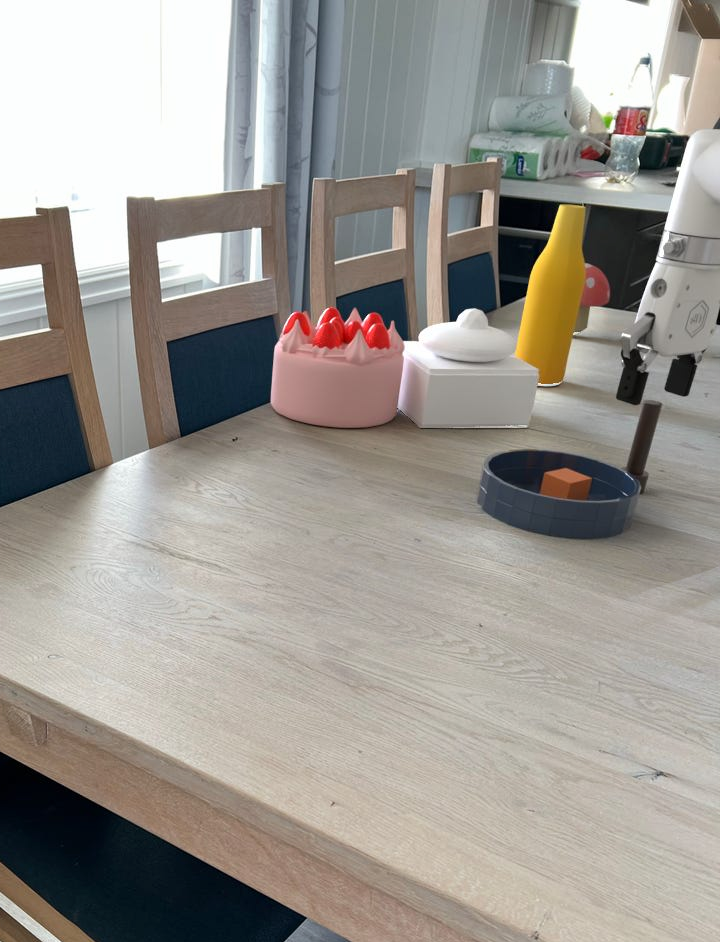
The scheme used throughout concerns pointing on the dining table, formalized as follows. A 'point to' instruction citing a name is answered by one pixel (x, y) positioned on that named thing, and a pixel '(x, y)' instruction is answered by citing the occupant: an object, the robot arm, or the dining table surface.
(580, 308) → the decorative mushroom
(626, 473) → the bowl
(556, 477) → the block
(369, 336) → the cake
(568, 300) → the beer bottle
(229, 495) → the dining table surface
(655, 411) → the pestle
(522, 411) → the butter dish
